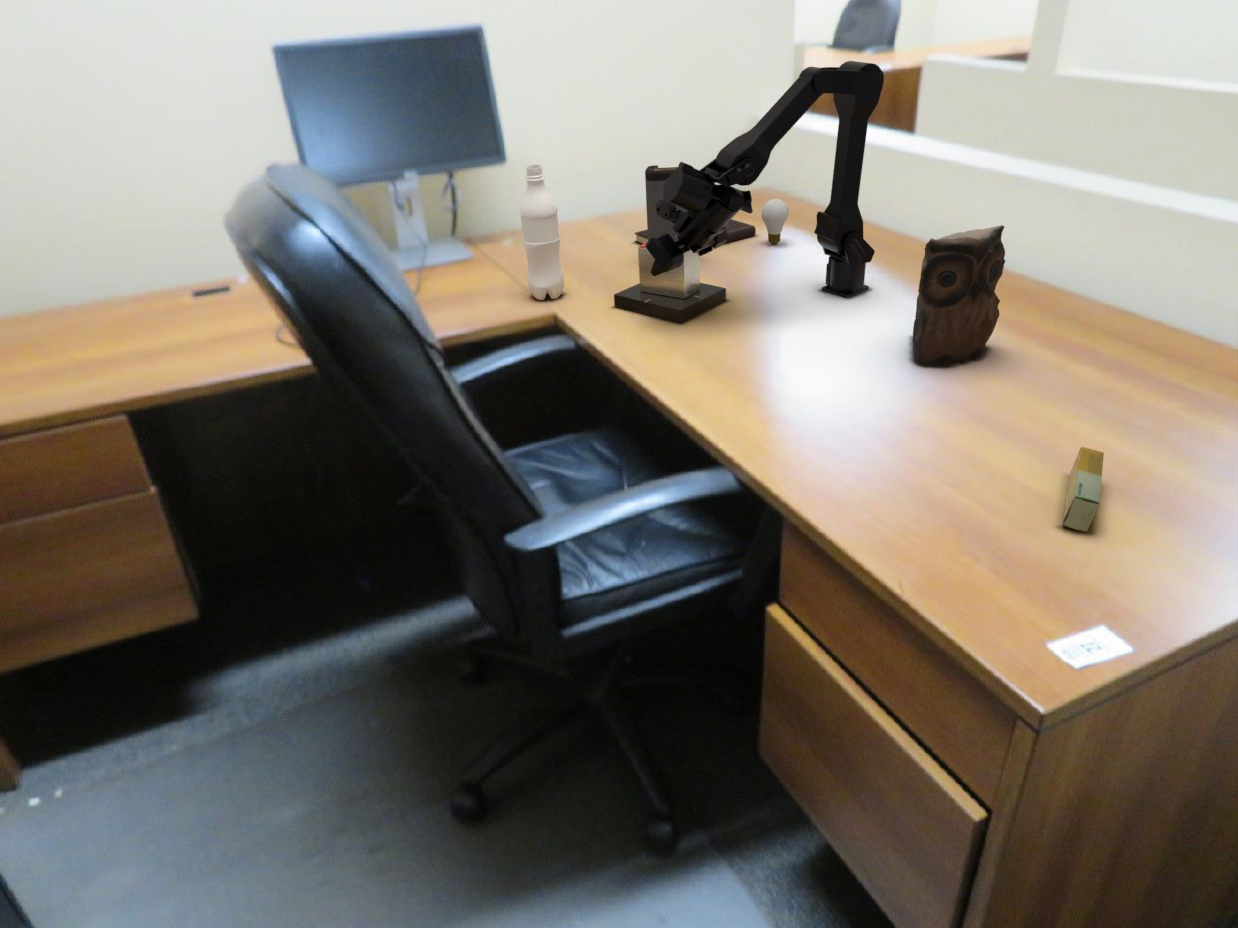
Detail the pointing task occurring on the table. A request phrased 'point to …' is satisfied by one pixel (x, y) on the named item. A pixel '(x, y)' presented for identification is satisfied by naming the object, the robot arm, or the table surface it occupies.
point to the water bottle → (541, 237)
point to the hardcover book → (734, 233)
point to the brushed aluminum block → (669, 276)
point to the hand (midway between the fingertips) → (662, 269)
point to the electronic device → (654, 193)
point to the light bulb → (774, 218)
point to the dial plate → (670, 302)
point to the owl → (958, 297)
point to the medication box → (1083, 490)
